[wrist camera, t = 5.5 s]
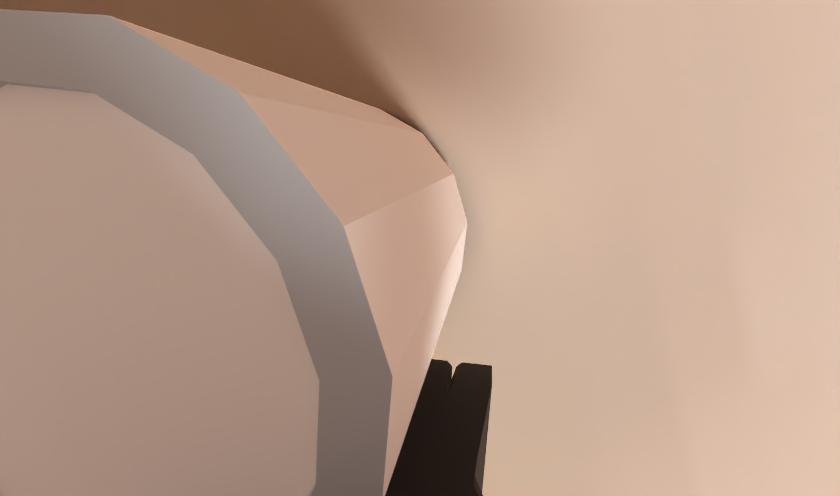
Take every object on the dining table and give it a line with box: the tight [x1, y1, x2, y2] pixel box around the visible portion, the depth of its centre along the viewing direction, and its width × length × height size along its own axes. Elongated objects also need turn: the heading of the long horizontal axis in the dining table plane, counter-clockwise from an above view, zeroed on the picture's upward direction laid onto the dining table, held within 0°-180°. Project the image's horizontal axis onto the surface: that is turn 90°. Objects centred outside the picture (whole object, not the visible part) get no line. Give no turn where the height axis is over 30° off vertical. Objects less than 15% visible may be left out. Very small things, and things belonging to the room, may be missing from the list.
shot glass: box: [0, 9, 467, 496], centre depth 8 cm, size 7×7×7 cm
